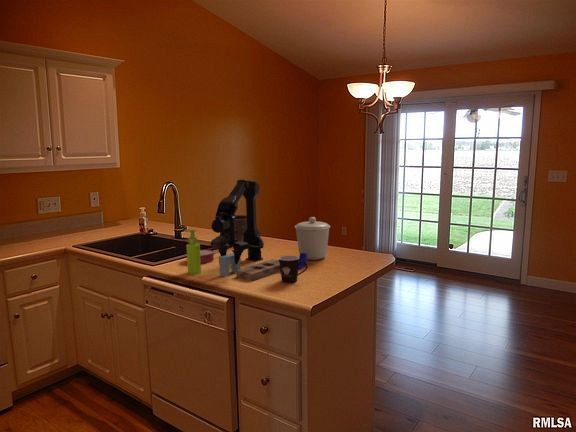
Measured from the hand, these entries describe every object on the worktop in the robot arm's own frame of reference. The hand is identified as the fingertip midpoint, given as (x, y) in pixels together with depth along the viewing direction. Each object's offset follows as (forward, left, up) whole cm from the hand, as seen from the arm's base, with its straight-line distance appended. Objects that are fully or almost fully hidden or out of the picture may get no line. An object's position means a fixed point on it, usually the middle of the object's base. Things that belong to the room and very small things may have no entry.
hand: (230, 262), depth 196 cm
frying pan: (-29, +16, -5) cm, 34 cm away
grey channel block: (0, 0, -5) cm, 5 cm away
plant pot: (-43, +47, -5) cm, 64 cm away
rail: (+11, +10, -5) cm, 16 cm away
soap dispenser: (-15, -9, -5) cm, 18 cm away
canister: (+13, +45, -5) cm, 47 cm away
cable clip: (+19, +25, -6) cm, 32 cm away
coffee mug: (+30, +7, -5) cm, 31 cm away
